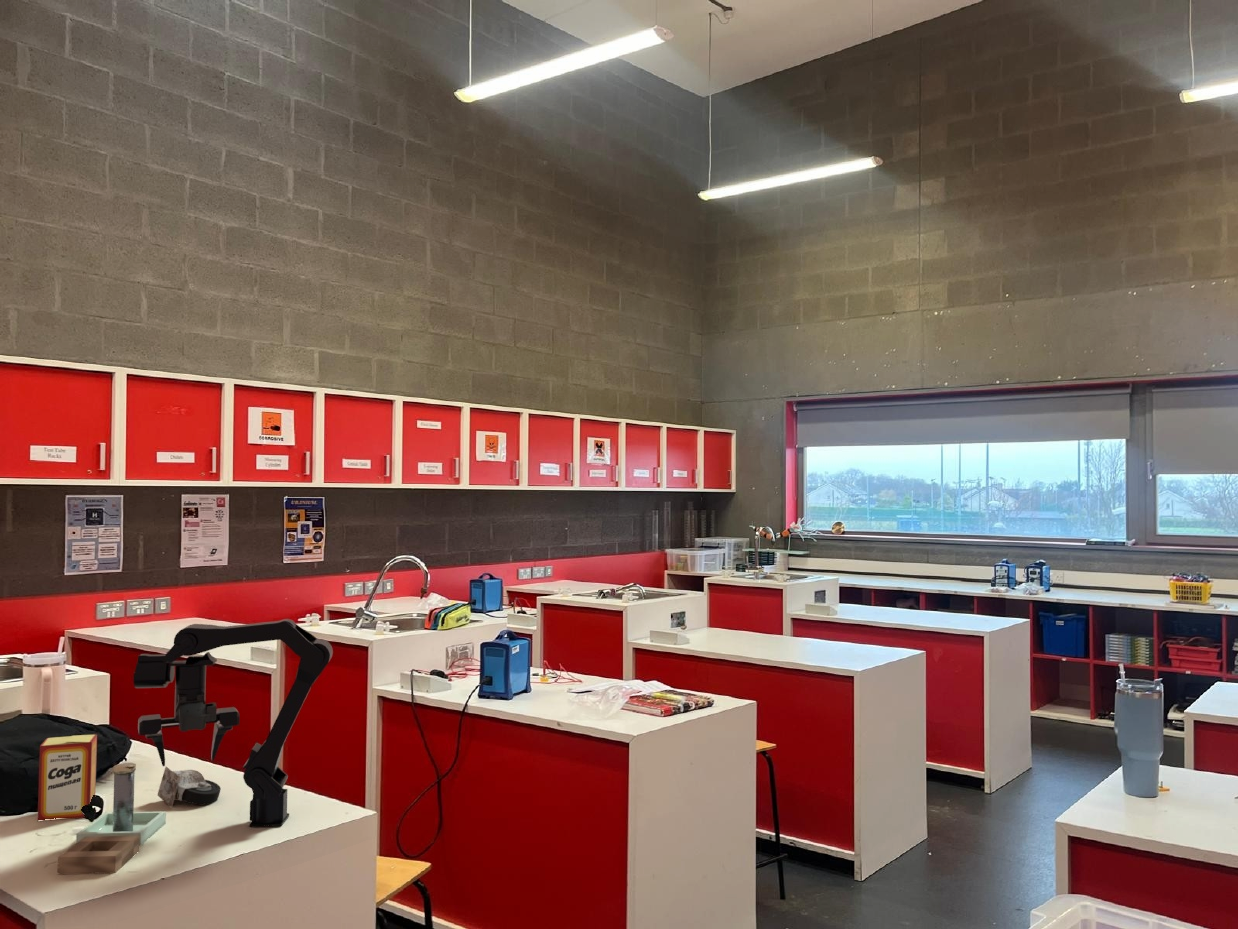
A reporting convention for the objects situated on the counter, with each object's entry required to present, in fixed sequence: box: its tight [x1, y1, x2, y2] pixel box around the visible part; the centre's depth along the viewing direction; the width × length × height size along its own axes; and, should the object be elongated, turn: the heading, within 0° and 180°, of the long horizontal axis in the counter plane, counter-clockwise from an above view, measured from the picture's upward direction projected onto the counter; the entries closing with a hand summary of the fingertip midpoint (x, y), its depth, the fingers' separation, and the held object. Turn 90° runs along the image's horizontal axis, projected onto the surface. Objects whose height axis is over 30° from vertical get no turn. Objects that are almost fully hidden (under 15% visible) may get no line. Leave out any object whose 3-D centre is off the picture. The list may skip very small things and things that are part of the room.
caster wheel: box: [157, 766, 221, 808], centre depth 206 cm, size 7×11×10 cm
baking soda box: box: [37, 734, 98, 821], centre depth 197 cm, size 10×6×16 cm
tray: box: [75, 810, 167, 846], centre depth 185 cm, size 12×12×2 cm
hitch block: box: [56, 836, 140, 875], centre depth 172 cm, size 10×10×3 cm
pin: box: [112, 762, 137, 832], centre depth 185 cm, size 4×4×13 cm
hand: (188, 763), depth 191 cm, fingers open, 9 cm apart
